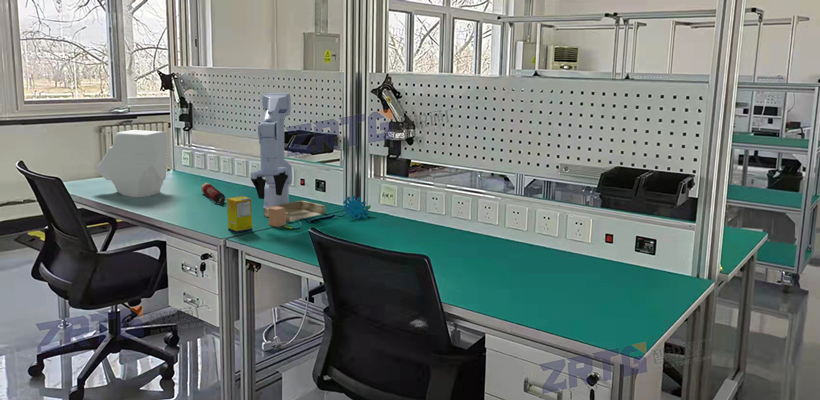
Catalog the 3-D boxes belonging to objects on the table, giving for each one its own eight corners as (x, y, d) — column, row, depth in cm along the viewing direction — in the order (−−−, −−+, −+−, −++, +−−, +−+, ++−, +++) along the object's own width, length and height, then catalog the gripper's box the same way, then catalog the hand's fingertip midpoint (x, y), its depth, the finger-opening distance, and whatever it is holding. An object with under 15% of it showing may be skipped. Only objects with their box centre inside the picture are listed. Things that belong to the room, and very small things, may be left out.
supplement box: (243, 227, 218) (242, 195, 215) (252, 230, 213) (251, 198, 211) (227, 230, 213) (226, 198, 211) (236, 233, 209) (235, 200, 207)
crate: (263, 217, 232) (263, 207, 231) (301, 209, 246) (301, 200, 245) (287, 223, 224) (287, 213, 223) (325, 214, 238) (325, 205, 237)
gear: (347, 216, 228) (341, 193, 233) (341, 225, 232) (335, 202, 237) (374, 218, 234) (368, 195, 239) (368, 226, 238) (362, 204, 243)
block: (269, 225, 219) (268, 207, 218) (278, 222, 222) (277, 206, 221) (276, 227, 217) (276, 209, 216) (285, 224, 220) (285, 207, 219)
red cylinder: (230, 197, 250) (212, 183, 275) (219, 193, 248) (201, 179, 273) (226, 208, 250) (208, 193, 275) (214, 205, 248) (197, 190, 273)
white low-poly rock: (144, 199, 257) (140, 135, 252) (95, 193, 268) (90, 131, 262) (182, 190, 276) (179, 131, 271) (135, 184, 287) (131, 127, 281)
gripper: (259, 161, 209) (260, 201, 212) (293, 156, 220) (294, 195, 223) (246, 158, 213) (247, 198, 216) (279, 154, 225) (280, 192, 227)
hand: (270, 196), depth 220 cm, fingers open, 7 cm apart
